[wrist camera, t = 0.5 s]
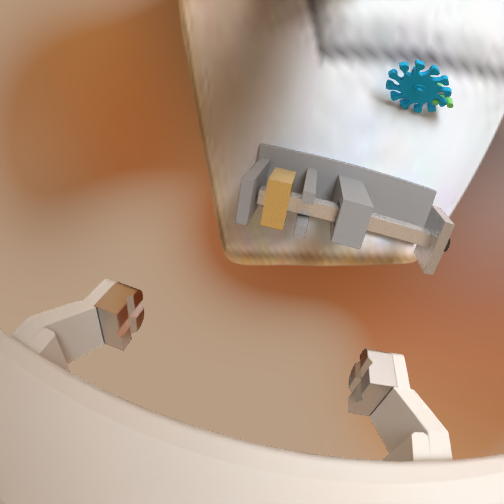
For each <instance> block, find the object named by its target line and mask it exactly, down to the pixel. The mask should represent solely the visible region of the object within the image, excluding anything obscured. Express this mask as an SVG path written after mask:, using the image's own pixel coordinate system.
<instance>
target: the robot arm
mask: <svg viewBox="0 0 504 504" xmlns="http://www.w3.org/2000/svg"><path fill="white" fill-rule="evenodd" d="M142 300H143V294H142V291H141V290H139V289H136V288H133V287H131V286H128V285H125V284H122V283H120V282H116V281H114V280H111V279H104V280H103V281H102V282H101V283H100V284H99V285H98V286H97V287H96V288H95V289H94V290H93V291H92V292H91V293H90V294H89V295H88V296H87V297H86V298H85V299H84V300H83V301H76V302H73V303H70V304H67V305H63V306H60V307H57V308H54V309H51V310H48V311H45V312H42V313H39V314H36V315H33V316H30V317H28V318H27V319H26V320H25V321H24V322H23V323H22V324H21V325H20V326H19V327H18V328H17V330H15V331H14V332H13V333H12V334H11V336H10V335H8V334H7V333H6V332H4V331H3V330H2V329H0V504H504V454H500V455H494V456H487V457H479V458H470V459H459V460H452V453H451V446H450V441H449V434H448V431H447V430H446V429H445V428H444V426H443V425H442V424H441V423H440V421H439V420H438V419H437V418H436V416H435V415H434V414H433V413H432V411H431V410H430V409H429V408H428V407H427V405H426V404H425V403H424V402H423V401H422V399H421V398H420V397H419V396H418V395H417V393H416V392H415V391H414V390H412V389H410V385H409V380H408V374H407V369H406V364H405V359H404V356H403V355H401V354H395V353H388V352H382V351H376V350H370V349H364V350H363V351H362V353H361V354H360V361H359V362H358V363H356V364H355V365H354V367H353V368H352V370H351V374H350V377H349V389H350V391H351V392H352V393H351V395H350V396H349V398H348V399H349V400H348V403H349V404H348V405H349V407H348V412H349V413H353V414H360V415H366V416H370V419H371V421H372V423H373V425H374V426H375V428H376V430H377V432H378V434H379V436H380V438H381V439H382V441H383V443H384V445H385V447H386V449H387V450H388V452H389V455H388V456H386V457H385V458H384V459H383V460H382V461H379V460H363V459H351V458H341V457H333V456H325V455H318V454H310V453H304V452H298V451H293V450H287V449H281V448H277V447H272V446H267V445H263V444H258V443H254V442H250V441H246V440H242V439H238V438H234V437H230V436H227V435H223V434H220V433H216V432H213V431H209V430H206V429H203V428H200V427H196V426H193V425H190V424H187V423H184V422H182V421H179V420H176V419H173V418H170V417H167V416H165V415H162V414H159V413H157V412H154V411H152V410H149V409H147V408H144V407H142V406H139V405H137V404H135V403H132V402H130V401H128V400H125V399H123V398H121V397H119V396H116V395H114V394H112V393H110V392H108V391H106V390H103V389H101V388H99V387H97V386H95V385H93V384H91V383H89V382H87V381H85V380H83V379H81V378H80V377H78V376H76V375H74V374H72V373H71V372H70V370H69V368H68V365H67V364H68V363H70V362H72V361H74V360H76V359H78V358H80V357H82V356H84V355H86V354H88V353H89V352H91V351H93V350H95V349H97V348H99V347H101V346H103V345H104V343H105V344H107V345H110V346H112V347H115V348H117V349H120V350H123V351H124V349H125V348H126V346H127V345H128V344H129V342H130V341H131V339H132V338H131V334H132V333H134V332H136V331H138V329H139V328H140V326H141V324H142V321H143V319H144V308H143V306H142V305H141V304H140V302H141V301H142Z"/></svg>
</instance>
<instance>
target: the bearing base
mask: <svg viewBox="0 0 504 504" xmlns="http://www.w3.org/2000/svg"><path fill="white" fill-rule="evenodd" d="M275 167H277V168H282V169H286V170H291V171H295V172H296V175H295V180H294V185H293V190H292V192H294V193H298V194H302V199H301V202H302V203H306V204H310V205H313V203H314V198H319V199H323V200H327V201H331V202H335V203H339V204H340V207H339V211H338V214H337V218H336V221H335V222H332V221H330V225H331V242H333V243H337V244H341V245H345V246H349V247H353V248H357V249H360V248H361V245H362V242H363V239H364V236H365V234H366V231H367V228H368V225H369V222H370V218H371V215H372V212H373V213H376V214H380V215H384V216H387V217H391V218H394V219H397V220H401V221H404V222H408V223H411V224H414V225H418V226H421V227H424V225H425V223H426V220H427V217H428V215H429V212H430V209H431V206H432V204H433V201H434V198H435V195H436V191H435V190H433V189H430V188H427V187H424V186H421V185H419V184H416V183H413V182H409V181H406V180H403V179H400V178H397V177H394V176H391V175H387V174H384V173H381V172H377V171H374V170H370V169H367V168H363V167H360V166H356V165H352V164H349V163H345V162H341V161H337V160H333V159H329V158H325V157H321V156H317V155H313V154H308V153H304V152H300V151H295V150H290V149H286V148H281V147H276V146H271V145H266V144H260V149H259V155H258V161H257V162H256V163H255V165H254V166H253V167H252V168H251V169H250V170H249V171H248V172H247V173H246V174H245V175H244V177H243V178H242V180H241V187H240V194H239V201H238V208H237V215H236V222H235V223H238V224H242V225H246V226H247V224H248V222H249V221H250V219H251V217H252V215H253V213H254V212H255V210H256V208H257V206H258V204H257V200H258V194H259V189H260V188H261V186H267V183H268V179H269V177H270V175H271V174H272V172H273V170H274V169H275ZM308 218H309V216H308V215H304V214H299V213H298V215H297V220H296V224H295V229H294V234H293V235H297V236H301V237H305V234H306V231H307V226H308Z"/></svg>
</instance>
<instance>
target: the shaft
mask: <svg viewBox="0 0 504 504" xmlns="http://www.w3.org/2000/svg"><path fill="white" fill-rule="evenodd" d="M266 189H267V186H261V188H260V189H259V194H258V200H257V204H260V205H264V200H265V194H266ZM301 199H302V194H298V193H294V192H291V194H290V199H289V204H288V208H287V211H291V212H295V213H299V214H304V215H308V216H312V217H316V218H320V219H324V220H328V221H332V222H335V221H336V218H337V214H338V211H339V207H340V204H339V203H335V202H331V201H327V200H323V199H319V198H314V203H313V205H310V204H306V203H302V202H301ZM454 226H455V225H454V224H453V222H452V221H451V220H450V219H449V218H448V216H447V215H446V214H445V213H444V212H443V211H442V209H441V208H438V207H435V206H431V209H430V212H429V215H428V217H427V220H426V223H425V225H424V227H421V226H418V225H414V224H411V223H408V222H404V221H401V220H397V219H394V218H391V217H387V216H384V215H380V214H376V213H373V212H372V215H371V218H370V222H369V225H368V228H367V231H371V232H375V233H378V234H382V235H386V236H389V237H393V238H396V239H400V240H404V241H407V242H411V243H414V244H417V245H416V248H415V250H414V253H415V256H416V258H417V260H418V262H419V264H420V266H421V268H422V271H423V273H427V274H430V275H433V273H434V271H435V269H436V267H437V264H438V262H439V260H440V258H441V256H442V254H443V251H444V252H445V251H447V249H448V248H449V245H450V235H451V233H452V230H453V228H454Z"/></svg>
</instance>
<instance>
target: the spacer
mask: <svg viewBox="0 0 504 504" xmlns="http://www.w3.org/2000/svg"><path fill="white" fill-rule="evenodd" d="M295 175H296V172H295V171H291V170H286V169H282V168H277V167H275V169H274V170H273V172H272V174H271V175H270V177H269V179H268V183H267V189H266V194H265V200H264V206H263V211H262V217H261V222H260V225H262V226H266V227H270V228H275V229H279V230H283V227H284V223H285V220H286V216H287V213H288V211H287V208H288V204H289V199H290V194H291V192H292V190H293V185H294V180H295Z"/></svg>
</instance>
